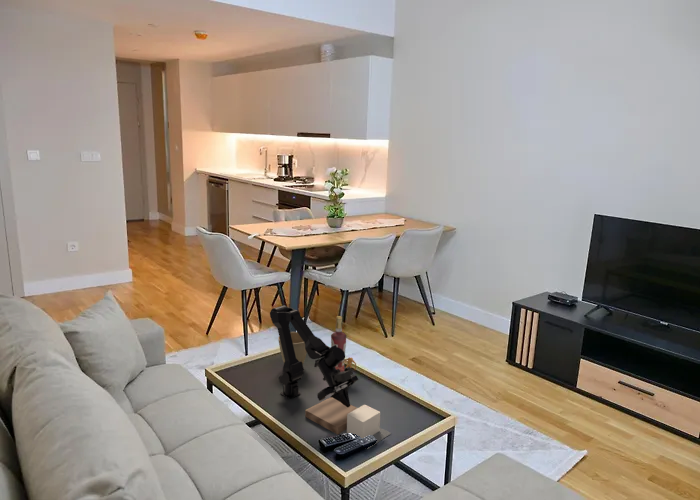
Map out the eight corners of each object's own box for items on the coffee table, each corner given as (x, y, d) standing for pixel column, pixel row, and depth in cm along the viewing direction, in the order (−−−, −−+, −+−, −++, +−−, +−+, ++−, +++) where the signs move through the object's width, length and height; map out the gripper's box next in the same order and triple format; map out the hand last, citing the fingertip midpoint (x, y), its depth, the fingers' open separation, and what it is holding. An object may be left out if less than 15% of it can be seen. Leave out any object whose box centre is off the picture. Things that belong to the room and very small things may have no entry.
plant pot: (315, 369, 247) (315, 338, 243) (290, 378, 237) (290, 346, 234) (297, 359, 258) (297, 329, 254) (272, 367, 248) (272, 336, 245)
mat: (339, 433, 194) (339, 433, 194) (363, 419, 204) (363, 419, 204) (367, 449, 185) (367, 448, 185) (391, 433, 195) (391, 433, 195)
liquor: (347, 374, 242) (349, 318, 236) (332, 376, 240) (334, 320, 234) (342, 368, 249) (343, 313, 243) (328, 370, 247) (329, 315, 240)
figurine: (336, 381, 235) (337, 357, 233) (344, 377, 240) (345, 353, 237) (350, 387, 230) (351, 362, 228) (358, 382, 235) (359, 358, 232)
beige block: (347, 414, 193) (363, 422, 188) (364, 404, 200) (380, 412, 195) (346, 433, 194) (362, 441, 189) (363, 422, 202) (379, 430, 197)
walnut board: (305, 416, 205) (305, 410, 204) (332, 402, 217) (333, 396, 216) (337, 434, 193) (337, 427, 193) (365, 418, 205) (365, 411, 204)
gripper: (322, 370, 192) (343, 407, 187) (355, 355, 205) (376, 390, 201) (308, 382, 199) (328, 418, 194) (341, 367, 212) (360, 401, 207)
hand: (349, 406), depth 199 cm, fingers closed
